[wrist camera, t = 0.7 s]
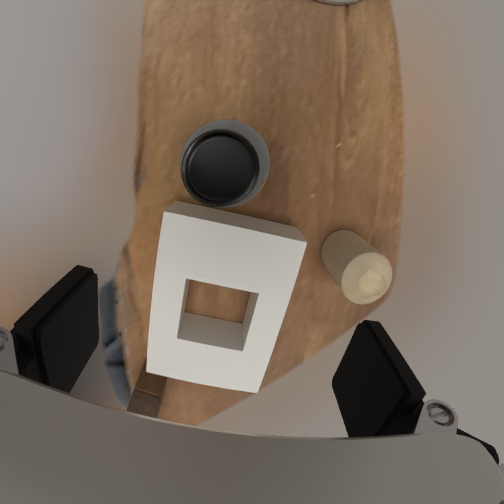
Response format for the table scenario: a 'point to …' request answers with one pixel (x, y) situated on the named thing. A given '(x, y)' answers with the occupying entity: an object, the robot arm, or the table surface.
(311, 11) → the table surface
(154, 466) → the robot arm
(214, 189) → the lotion bottle
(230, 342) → the bottle caddy
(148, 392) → the brown block with handle
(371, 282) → the candle
